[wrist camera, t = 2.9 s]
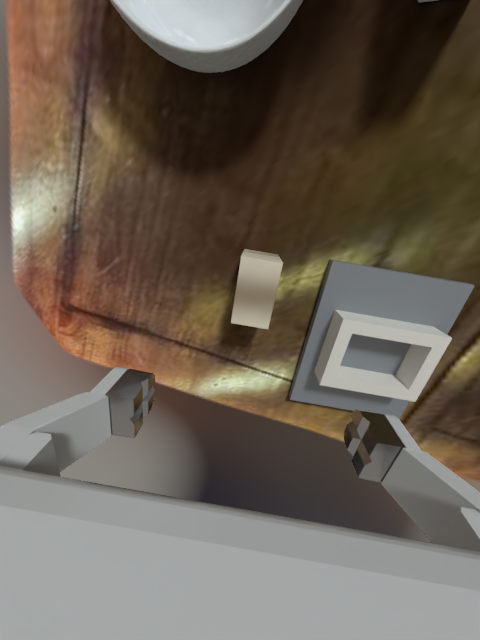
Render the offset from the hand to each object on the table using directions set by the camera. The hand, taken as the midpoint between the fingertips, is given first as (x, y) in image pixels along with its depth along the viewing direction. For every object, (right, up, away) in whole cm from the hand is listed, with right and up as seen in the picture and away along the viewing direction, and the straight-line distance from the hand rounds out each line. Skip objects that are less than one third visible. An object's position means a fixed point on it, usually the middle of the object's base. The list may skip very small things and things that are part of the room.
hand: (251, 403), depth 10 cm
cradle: (+16, 0, +22) cm, 27 cm away
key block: (+1, +8, +20) cm, 21 cm away
